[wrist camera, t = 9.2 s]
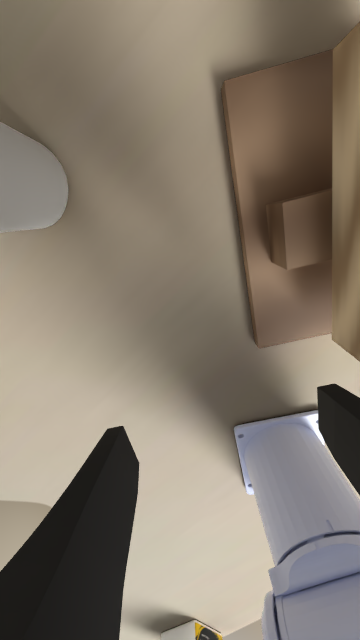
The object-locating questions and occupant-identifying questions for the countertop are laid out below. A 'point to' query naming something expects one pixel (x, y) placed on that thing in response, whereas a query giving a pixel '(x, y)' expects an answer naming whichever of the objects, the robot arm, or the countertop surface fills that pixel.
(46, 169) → the beverage can
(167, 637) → the medicine bottle
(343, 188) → the beam
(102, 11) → the countertop surface
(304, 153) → the fulcrum
